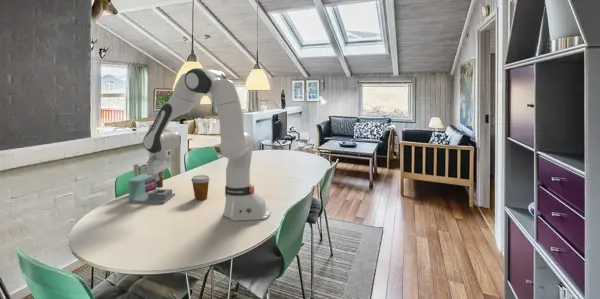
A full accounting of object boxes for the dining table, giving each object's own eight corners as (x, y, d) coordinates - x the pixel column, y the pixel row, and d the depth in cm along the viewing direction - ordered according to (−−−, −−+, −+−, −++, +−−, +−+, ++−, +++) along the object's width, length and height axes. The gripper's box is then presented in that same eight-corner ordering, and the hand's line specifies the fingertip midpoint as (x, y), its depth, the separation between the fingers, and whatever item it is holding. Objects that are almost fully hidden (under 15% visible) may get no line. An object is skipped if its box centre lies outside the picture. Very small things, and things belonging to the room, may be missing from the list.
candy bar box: (150, 187, 193) (148, 161, 190) (156, 188, 191) (155, 162, 188) (134, 193, 182) (132, 164, 179) (141, 194, 180) (139, 165, 178)
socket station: (175, 195, 179) (174, 174, 177) (164, 203, 165) (162, 181, 163) (143, 194, 180) (142, 173, 178) (129, 202, 166) (128, 180, 164)
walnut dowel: (163, 186, 173) (163, 166, 171) (161, 187, 170) (160, 167, 168) (158, 186, 173) (157, 166, 171) (155, 187, 170) (154, 167, 168)
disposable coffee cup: (213, 197, 176) (213, 176, 174) (200, 202, 169) (199, 180, 167) (202, 194, 181) (201, 174, 180) (188, 199, 174) (187, 177, 172)
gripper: (154, 158, 158) (156, 185, 160) (172, 151, 178) (173, 175, 180) (142, 157, 158) (143, 184, 160) (160, 150, 178) (162, 174, 181)
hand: (159, 179), depth 171 cm, fingers closed on walnut dowel, 3 cm apart
